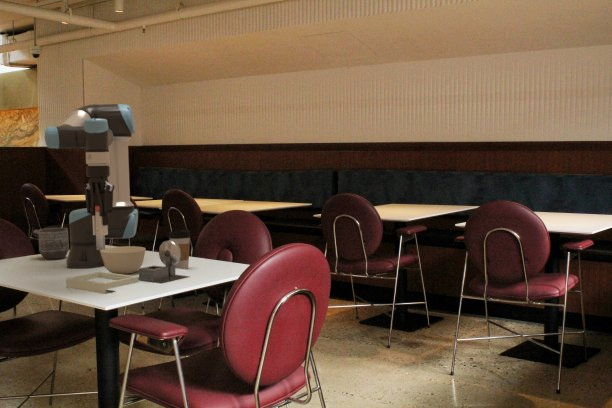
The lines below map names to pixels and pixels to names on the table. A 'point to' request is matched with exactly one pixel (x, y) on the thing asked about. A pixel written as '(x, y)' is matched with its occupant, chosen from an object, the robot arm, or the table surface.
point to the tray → (99, 287)
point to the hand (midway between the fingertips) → (100, 234)
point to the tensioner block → (169, 258)
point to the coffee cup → (182, 246)
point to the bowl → (123, 259)
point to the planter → (53, 243)
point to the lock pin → (99, 239)
